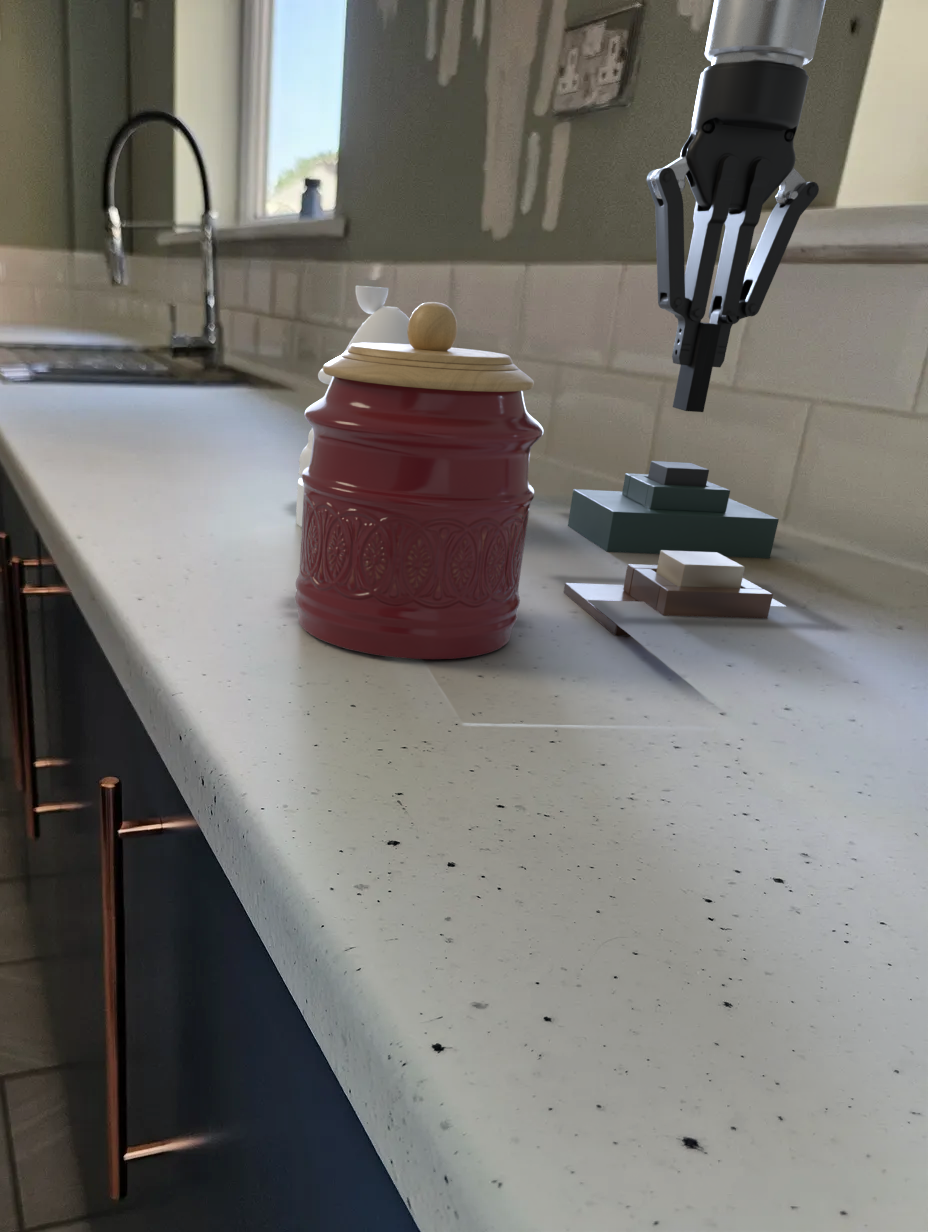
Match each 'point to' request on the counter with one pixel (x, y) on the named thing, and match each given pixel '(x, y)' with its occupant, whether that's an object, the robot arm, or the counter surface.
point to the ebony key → (678, 474)
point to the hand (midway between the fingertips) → (687, 409)
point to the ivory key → (699, 569)
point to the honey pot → (375, 329)
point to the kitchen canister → (416, 497)
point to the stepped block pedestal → (672, 597)
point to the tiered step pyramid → (671, 520)
